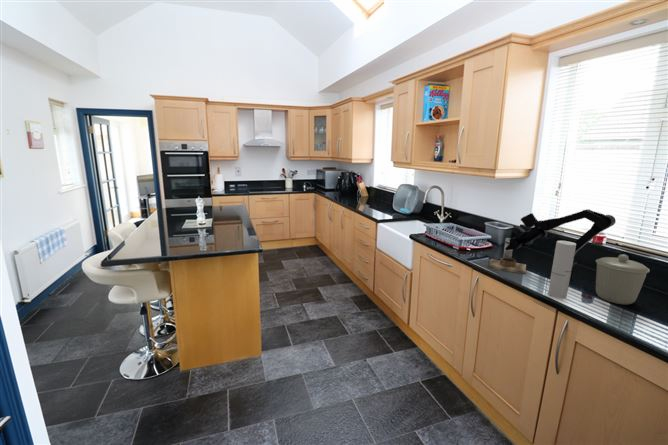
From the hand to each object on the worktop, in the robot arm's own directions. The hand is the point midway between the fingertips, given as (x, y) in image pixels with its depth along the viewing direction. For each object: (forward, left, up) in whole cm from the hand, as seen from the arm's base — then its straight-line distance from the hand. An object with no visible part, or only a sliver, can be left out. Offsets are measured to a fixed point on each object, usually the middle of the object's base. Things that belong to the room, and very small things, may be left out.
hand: (509, 248), depth 195 cm
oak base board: (0, +12, -8) cm, 14 cm away
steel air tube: (+1, 0, -8) cm, 8 cm away
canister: (-44, +33, -9) cm, 56 cm away
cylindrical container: (-22, +42, -9) cm, 48 cm away
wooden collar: (0, +12, -7) cm, 14 cm away
